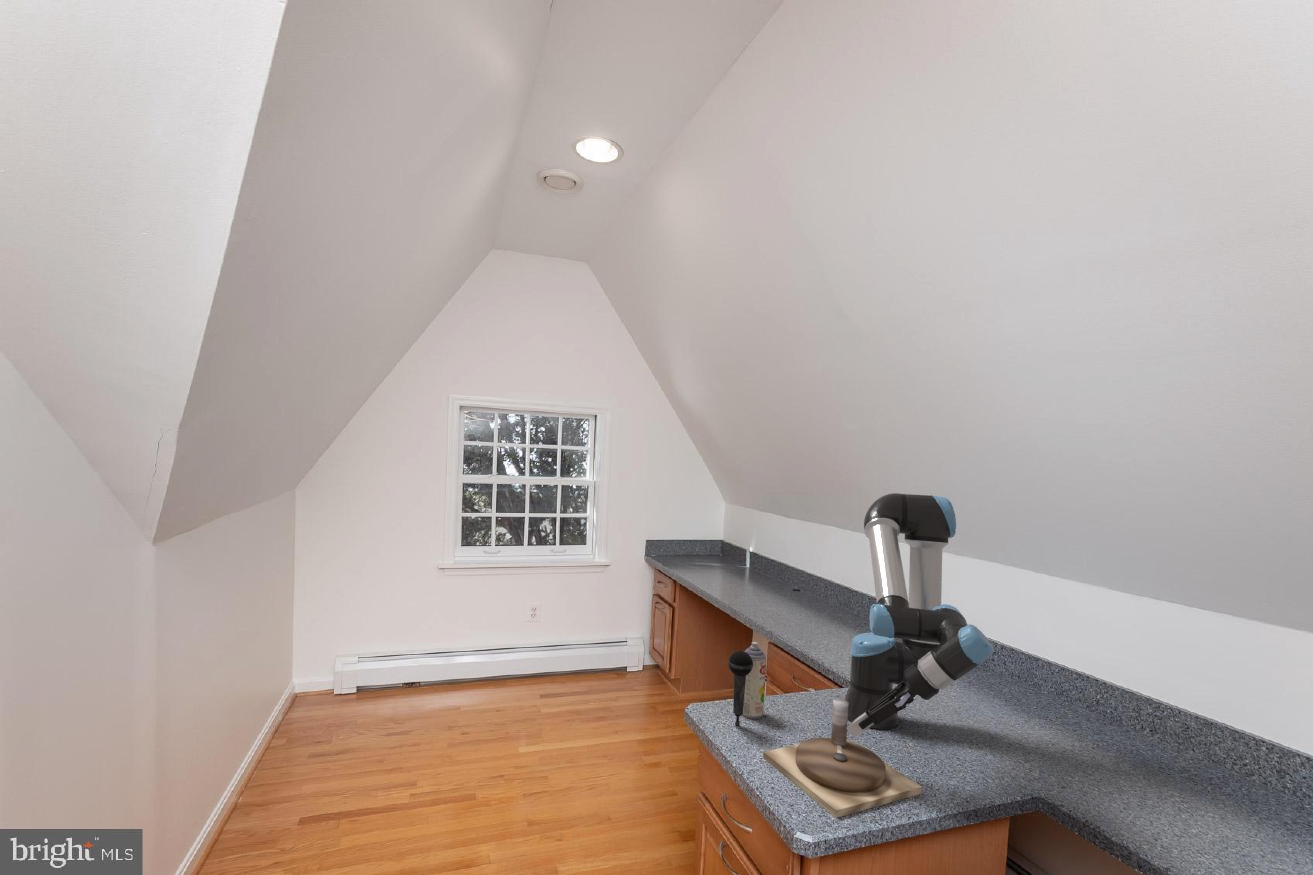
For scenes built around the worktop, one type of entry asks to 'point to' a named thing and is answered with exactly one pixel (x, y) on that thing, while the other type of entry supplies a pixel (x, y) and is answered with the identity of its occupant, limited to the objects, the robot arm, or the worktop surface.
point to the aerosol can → (755, 684)
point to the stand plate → (839, 799)
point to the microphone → (739, 679)
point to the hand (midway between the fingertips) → (851, 731)
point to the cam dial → (840, 758)
